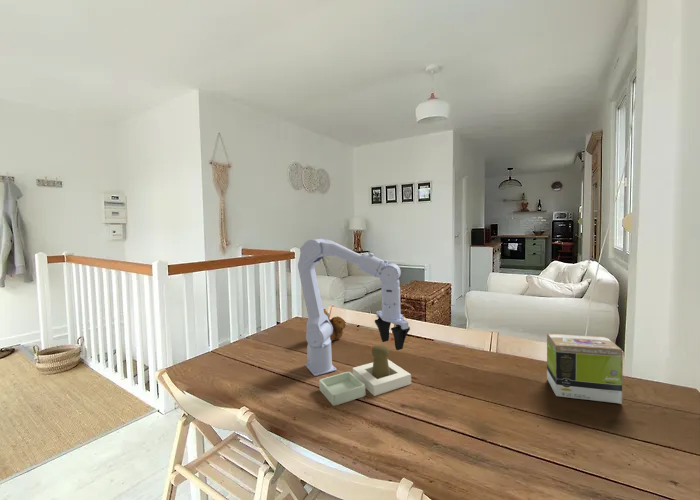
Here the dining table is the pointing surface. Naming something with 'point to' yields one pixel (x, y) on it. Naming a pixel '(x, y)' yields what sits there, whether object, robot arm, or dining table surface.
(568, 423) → the dining table surface
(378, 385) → the holder
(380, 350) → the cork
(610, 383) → the tea box
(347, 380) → the tray
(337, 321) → the stuffed squirrel
